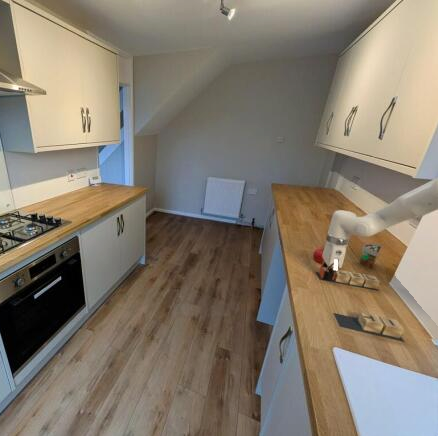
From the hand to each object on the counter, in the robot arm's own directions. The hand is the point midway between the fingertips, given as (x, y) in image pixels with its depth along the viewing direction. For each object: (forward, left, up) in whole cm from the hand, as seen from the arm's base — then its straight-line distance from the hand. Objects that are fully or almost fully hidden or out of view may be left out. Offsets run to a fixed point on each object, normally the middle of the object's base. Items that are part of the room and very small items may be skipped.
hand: (325, 276), depth 106 cm
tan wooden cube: (-5, +29, -1) cm, 29 cm away
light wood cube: (-15, 0, -1) cm, 15 cm away
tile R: (-5, 0, -1) cm, 5 cm away
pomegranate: (-3, -16, -1) cm, 17 cm away
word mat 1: (-7, 0, -1) cm, 8 cm away
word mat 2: (-4, +29, -1) cm, 29 cm away
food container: (-22, -22, -1) cm, 31 cm away
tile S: (0, 0, 0) cm, 0 cm away
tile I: (-10, +29, -1) cm, 31 cm away
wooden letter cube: (-10, 0, -1) cm, 10 cm away
